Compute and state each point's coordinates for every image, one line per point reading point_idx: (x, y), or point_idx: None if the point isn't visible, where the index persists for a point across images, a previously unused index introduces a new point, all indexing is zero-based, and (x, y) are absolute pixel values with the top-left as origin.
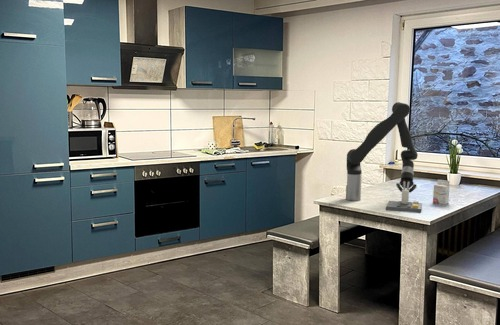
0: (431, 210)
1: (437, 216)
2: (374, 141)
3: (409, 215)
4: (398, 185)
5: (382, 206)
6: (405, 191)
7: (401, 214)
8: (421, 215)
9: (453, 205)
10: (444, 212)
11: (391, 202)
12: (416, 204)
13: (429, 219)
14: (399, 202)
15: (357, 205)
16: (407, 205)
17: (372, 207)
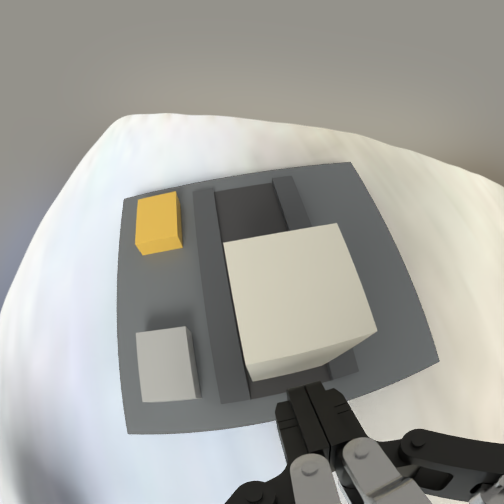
0: (70, 304)
1: (69, 184)
2: None
3: (191, 134)
4: (500, 457)
5: (411, 248)
6: (277, 237)
7: (231, 131)
8: (135, 160)
9: (5, 497)
10: (21, 285)
11: (394, 301)
12: (148, 232)
13: (112, 130)
14: None
15: (486, 206)
16: None
17: (427, 196)
